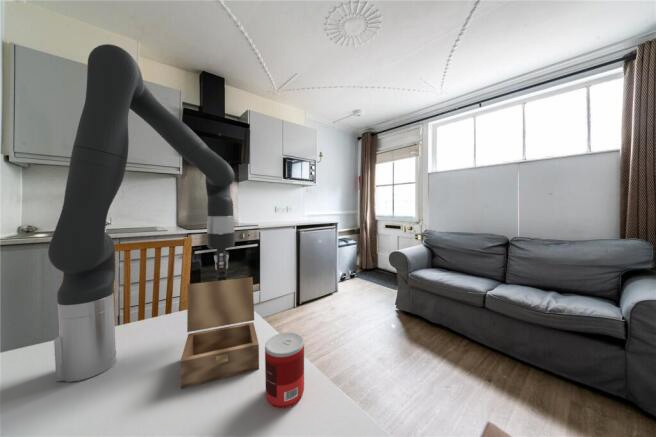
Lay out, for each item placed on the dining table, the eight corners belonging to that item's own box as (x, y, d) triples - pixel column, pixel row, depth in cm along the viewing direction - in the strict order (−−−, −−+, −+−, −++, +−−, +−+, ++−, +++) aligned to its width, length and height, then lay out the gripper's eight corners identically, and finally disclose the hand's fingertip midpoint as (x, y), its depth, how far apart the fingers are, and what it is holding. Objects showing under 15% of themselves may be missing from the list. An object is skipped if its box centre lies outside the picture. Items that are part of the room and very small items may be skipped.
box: (180, 389, 50) (180, 362, 50) (189, 356, 62) (188, 333, 61) (259, 369, 57) (258, 344, 56) (253, 342, 68) (253, 321, 68)
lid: (187, 284, 64) (188, 284, 65) (187, 332, 61) (187, 331, 62) (252, 277, 70) (252, 277, 71) (254, 320, 68) (254, 319, 69)
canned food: (310, 384, 52) (309, 335, 51) (292, 415, 44) (292, 357, 44) (279, 376, 54) (278, 329, 54) (257, 404, 47) (257, 349, 46)
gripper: (208, 229, 76) (209, 283, 77) (205, 234, 64) (206, 297, 65) (233, 228, 79) (234, 280, 80) (235, 232, 67) (236, 293, 68)
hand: (222, 288), depth 72 cm, fingers closed
